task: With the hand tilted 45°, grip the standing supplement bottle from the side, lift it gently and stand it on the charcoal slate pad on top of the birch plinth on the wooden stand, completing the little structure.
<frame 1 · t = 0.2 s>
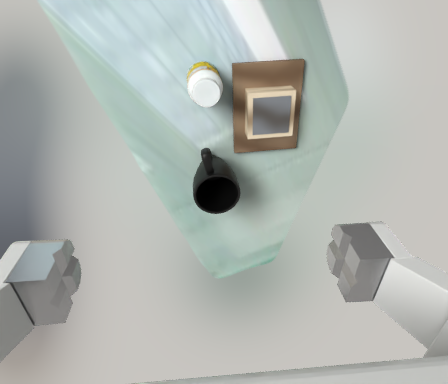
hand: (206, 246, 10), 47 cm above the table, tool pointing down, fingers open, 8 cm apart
wooden stand: (265, 107, 57), on the table
supplement bottle: (202, 77, 53), on the table
mug: (210, 160, 62), on the table
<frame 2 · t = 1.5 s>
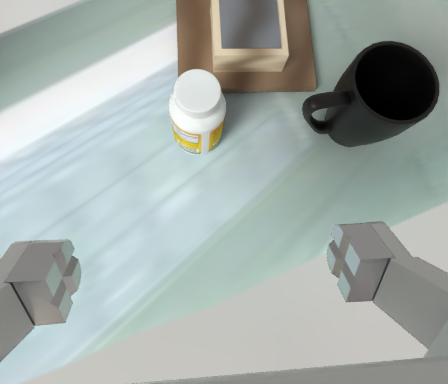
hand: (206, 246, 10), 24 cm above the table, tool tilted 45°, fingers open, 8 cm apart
wooden stand: (244, 46, 38), on the table
supplement bottle: (198, 134, 36), on the table
mug: (331, 128, 37), on the table
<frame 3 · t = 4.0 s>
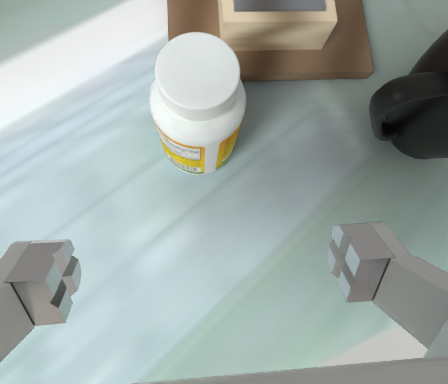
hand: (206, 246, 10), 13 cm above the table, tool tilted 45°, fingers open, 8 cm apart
wooden stand: (264, 15, 26), on the table
supplement bottle: (199, 143, 24), on the table
mug: (395, 131, 25), on the table
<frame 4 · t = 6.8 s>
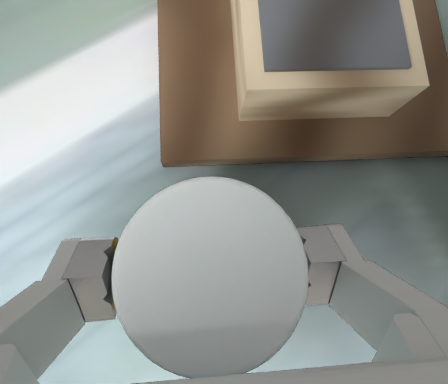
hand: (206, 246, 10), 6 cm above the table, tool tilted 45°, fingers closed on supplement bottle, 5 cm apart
wooden stand: (301, 61, 18), on the table
supplement bottle: (206, 262, 16), on the table, touching gripper
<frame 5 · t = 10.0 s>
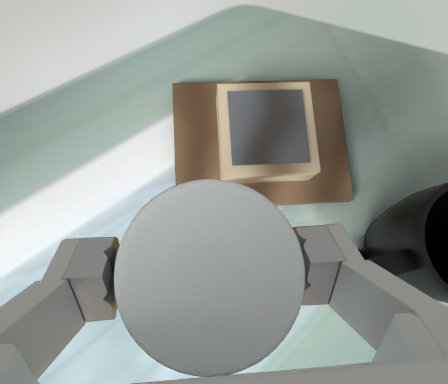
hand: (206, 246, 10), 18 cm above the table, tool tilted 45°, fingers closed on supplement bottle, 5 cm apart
wooden stand: (259, 144, 30), on the table
supplement bottle: (206, 262, 16), point 12 cm above the table, touching gripper
mug: (372, 250, 29), on the table
when the fingers open (11 cm above the table, at t = 13.2 s): supplement bottle stays where it is, resting on wooden stand.
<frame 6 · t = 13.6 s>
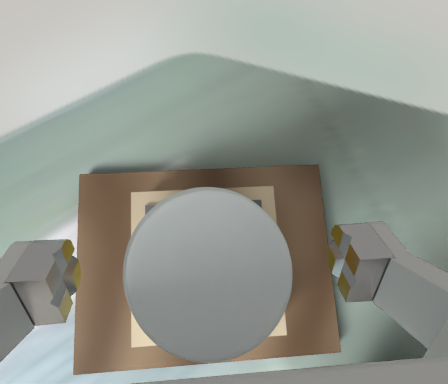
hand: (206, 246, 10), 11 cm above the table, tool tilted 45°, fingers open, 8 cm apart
wooden stand: (206, 260, 21), on the table
supplement bottle: (205, 262, 17), point 4 cm above the table, touching wooden stand
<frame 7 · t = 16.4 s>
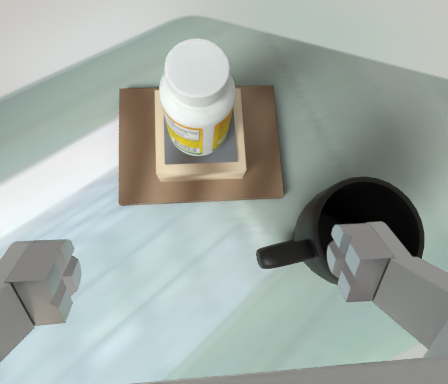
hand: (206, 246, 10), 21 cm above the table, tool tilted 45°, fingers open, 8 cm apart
wooden stand: (200, 144, 33), on the table
supplement bottle: (198, 129, 29), point 4 cm above the table, touching wooden stand
mug: (302, 243, 32), on the table
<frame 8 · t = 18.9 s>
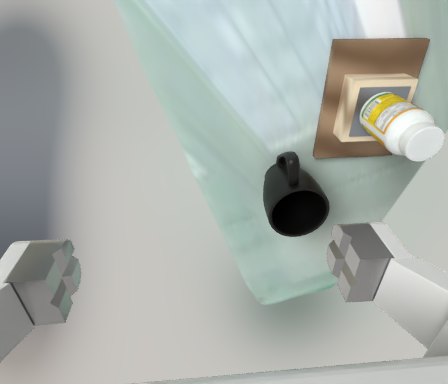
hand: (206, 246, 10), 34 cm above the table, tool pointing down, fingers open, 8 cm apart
wooden stand: (363, 102, 44), on the table
supplement bottle: (378, 111, 40), point 4 cm above the table, touching wooden stand
mug: (281, 165, 49), on the table
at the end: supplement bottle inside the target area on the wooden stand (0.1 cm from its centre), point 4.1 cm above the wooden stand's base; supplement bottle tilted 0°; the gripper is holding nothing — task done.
